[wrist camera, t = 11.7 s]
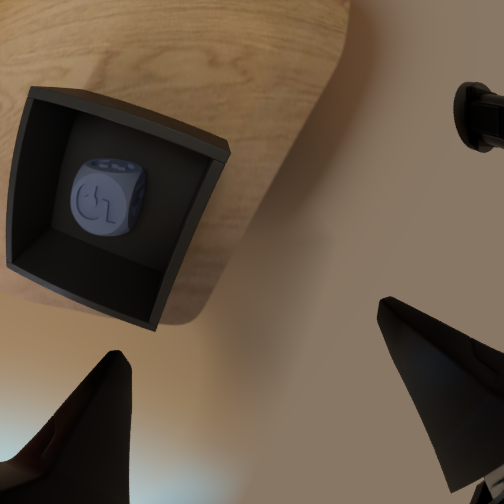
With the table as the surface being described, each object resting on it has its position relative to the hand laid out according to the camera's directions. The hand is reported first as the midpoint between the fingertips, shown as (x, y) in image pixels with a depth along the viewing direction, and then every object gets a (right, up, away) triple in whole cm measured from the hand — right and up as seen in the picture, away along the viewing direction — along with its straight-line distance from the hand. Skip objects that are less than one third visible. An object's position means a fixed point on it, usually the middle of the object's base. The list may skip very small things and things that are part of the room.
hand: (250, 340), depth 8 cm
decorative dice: (-9, +7, +9) cm, 15 cm away
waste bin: (-9, +8, +10) cm, 15 cm away
